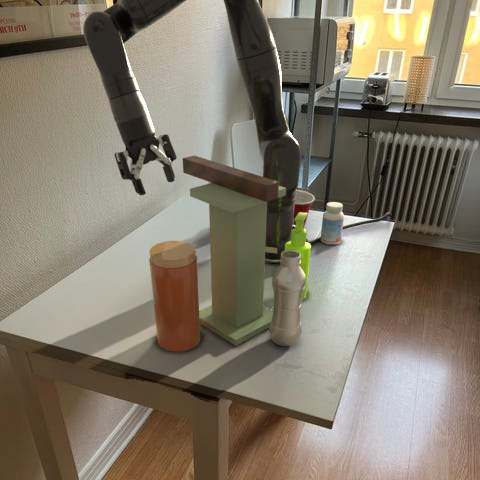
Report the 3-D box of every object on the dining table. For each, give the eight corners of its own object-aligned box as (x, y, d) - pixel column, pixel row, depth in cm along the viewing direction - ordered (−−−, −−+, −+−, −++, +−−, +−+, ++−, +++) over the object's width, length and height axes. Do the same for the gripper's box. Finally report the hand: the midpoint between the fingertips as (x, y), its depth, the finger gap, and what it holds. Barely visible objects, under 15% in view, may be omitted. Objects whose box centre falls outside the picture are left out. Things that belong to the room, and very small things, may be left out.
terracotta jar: (194, 324, 108) (190, 237, 97) (205, 347, 101) (201, 256, 90) (154, 331, 106) (145, 243, 95) (162, 355, 99) (152, 263, 88)
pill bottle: (340, 246, 144) (345, 209, 138) (319, 244, 145) (323, 207, 139) (341, 237, 149) (345, 202, 143) (321, 236, 150) (324, 200, 144)
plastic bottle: (266, 332, 106) (270, 247, 95) (297, 331, 106) (305, 246, 95) (270, 350, 100) (275, 262, 89) (303, 349, 101) (311, 261, 90)
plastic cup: (302, 242, 145) (305, 203, 139) (270, 234, 150) (271, 196, 144) (317, 230, 153) (321, 193, 147) (286, 223, 158) (288, 186, 151)
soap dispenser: (309, 289, 122) (316, 212, 111) (303, 302, 116) (310, 223, 105) (286, 285, 123) (291, 209, 113) (279, 298, 118) (284, 219, 107)
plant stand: (193, 319, 110) (186, 187, 94) (238, 297, 118) (239, 173, 102) (235, 346, 102) (236, 206, 85) (281, 321, 110) (290, 189, 93)
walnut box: (183, 172, 102) (182, 158, 100) (195, 169, 104) (194, 155, 102) (265, 202, 87) (266, 185, 85) (278, 198, 89) (279, 181, 87)
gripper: (112, 124, 102) (141, 199, 109) (166, 105, 109) (189, 177, 116) (96, 128, 107) (124, 199, 115) (148, 109, 114) (171, 177, 122)
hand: (157, 188), depth 115 cm, fingers open, 8 cm apart
